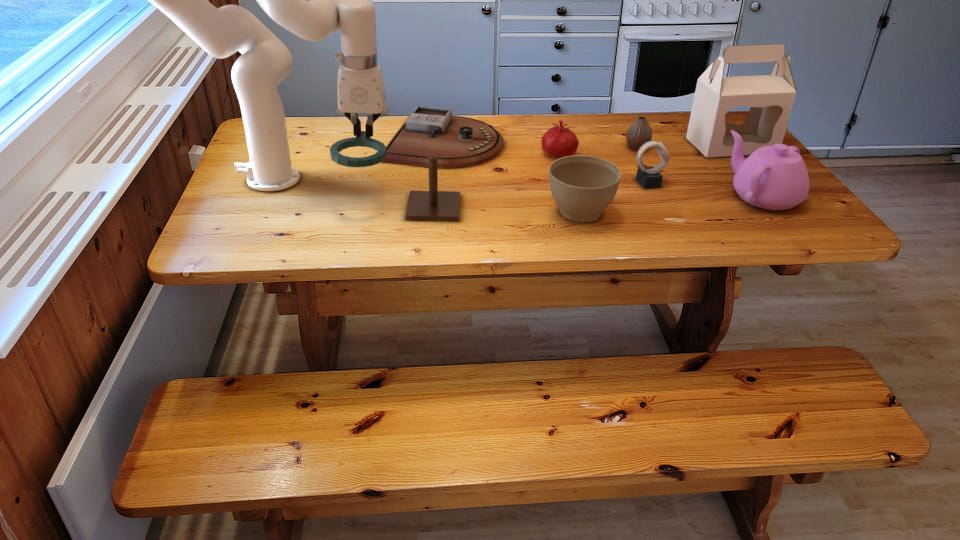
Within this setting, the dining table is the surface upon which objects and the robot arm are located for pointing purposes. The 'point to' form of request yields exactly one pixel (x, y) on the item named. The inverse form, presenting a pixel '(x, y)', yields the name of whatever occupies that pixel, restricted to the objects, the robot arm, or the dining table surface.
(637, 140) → the vase
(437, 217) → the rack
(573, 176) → the planter bowl
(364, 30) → the robot arm
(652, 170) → the ring sculpture
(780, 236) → the dining table surface
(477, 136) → the control panel
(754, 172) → the teapot
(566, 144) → the pomegranate
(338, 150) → the ring
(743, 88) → the gable box
